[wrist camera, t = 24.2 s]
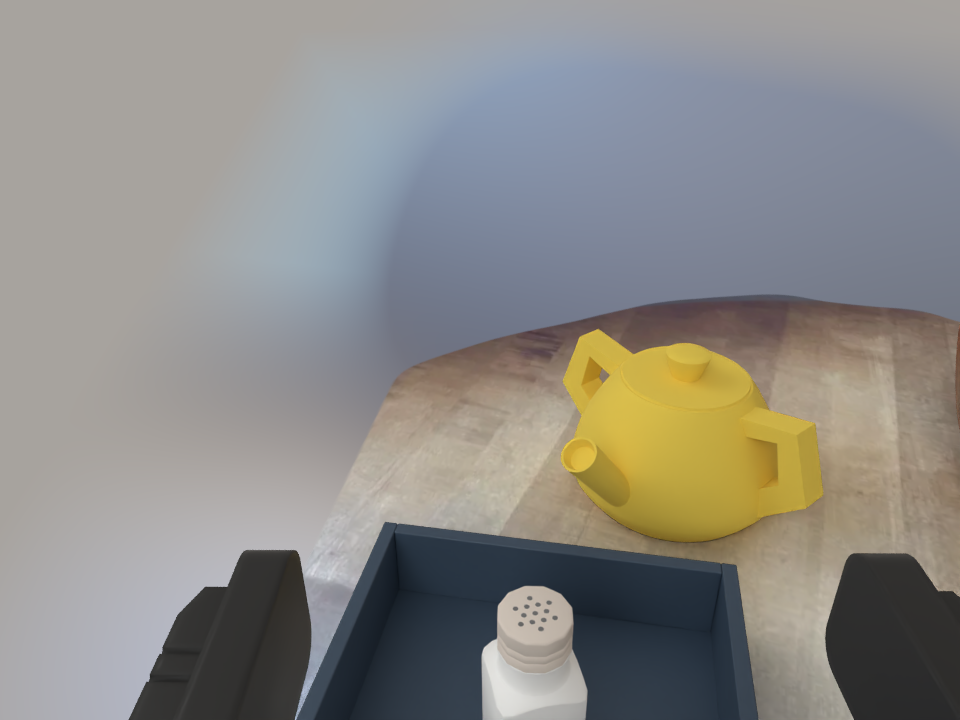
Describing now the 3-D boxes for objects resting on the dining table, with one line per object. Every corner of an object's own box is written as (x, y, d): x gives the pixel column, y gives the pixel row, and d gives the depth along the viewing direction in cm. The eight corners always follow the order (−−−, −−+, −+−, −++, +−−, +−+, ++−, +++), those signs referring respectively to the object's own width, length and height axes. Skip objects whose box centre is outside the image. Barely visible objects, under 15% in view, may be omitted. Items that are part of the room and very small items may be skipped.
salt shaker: (480, 727, 37) (477, 586, 33) (558, 711, 38) (566, 570, 33) (499, 806, 34) (499, 661, 29) (584, 787, 35) (598, 642, 30)
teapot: (461, 488, 54) (457, 354, 49) (622, 396, 65) (633, 277, 60) (702, 658, 41) (732, 500, 36) (853, 508, 52) (894, 368, 47)
